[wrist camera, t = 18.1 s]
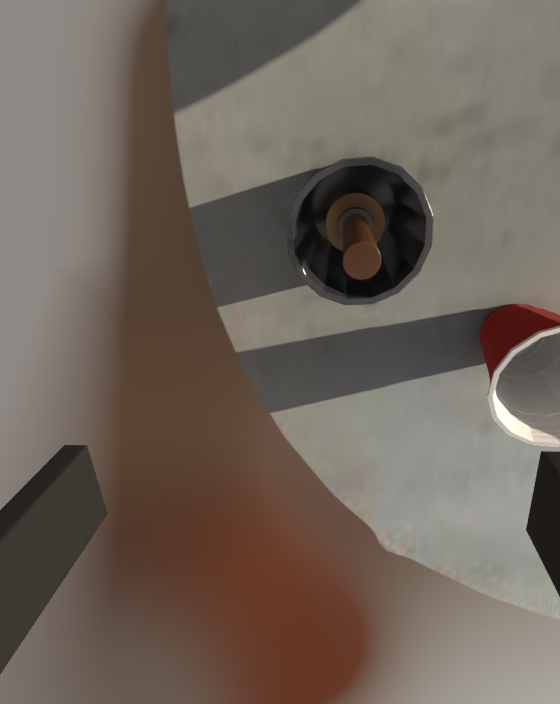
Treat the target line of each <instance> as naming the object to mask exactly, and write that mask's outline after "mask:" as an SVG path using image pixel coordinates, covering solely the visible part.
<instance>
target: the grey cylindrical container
mask: <svg viewBox="0 0 560 704" xmlns="http://www.w3.org/2000/svg"><path fill="white" fill-rule="evenodd" d="M351 190H361V191H364V192H367V193H369V194H370V195H372V196H373V197H374V198H375V199H376V200H377V201H378V203H379V204H380V205H381V207H382V209H383V211H384V215H385V228H384V232H383V234H382V237H381V238H380V240H379V241H378V242H377V247H378V249H379V252H380V255H381V265H380V268H379V270H378V271H377V272H376V274H374V275H373V276H372V277H370V278H367V279H363V280H359V279H355V278H353V277H351V276H350V275H348V274H347V272H346V271H345V269H344V266H343V251H340V250H339V249H337V248H336V247H335V246H334V245H333V244H332V243H331V242H330V240H329V238H328V236H327V234H326V229H325V221H326V216H327V213H328V210H329V207H330V205H331V204H332V202H333V201H334V200H335V199H336V198H337V197H338V196H339V195H341V194H342V193H344V192H347V191H351ZM286 229H287V242H288V254H289V257H290V259H291V261H292V263H293V265H294V267H295V269H296V271H297V273H298V275H299V277H300V278H301V280H302V281H304V282H305V283H306V284H307V285H308V286H309V287H310V288H311V289H313V290H314V291H315V292H316V293H317V294H318V295H319V296H321V297H324V298H327V299H329V300H332V301H335V302H338V303H341V304H344V305H362V304H374V303H376V302H379V301H381V300H383V299H386V298H388V297H390V296H393V295H395V294H397V293H399V292H400V291H401V290H402V289H403V288H404V287H405V286H406V285H407V284H408V283H409V282H410V281H411V280H412V279H413V278H415V277H416V276H417V275H418V274H419V272H420V270H421V268H422V266H423V264H424V262H425V260H426V258H427V255H428V253H429V251H430V249H431V246H432V235H433V213H432V211H431V208H430V205H429V203H428V200H427V197H426V195H425V192H424V189H423V188H422V186H421V185H420V184H419V183H418V182H417V181H415V180H414V179H413V178H412V177H411V176H410V175H409V174H408V173H407V172H406V171H405V170H404V169H403V168H402V167H401V166H398V165H395V164H392V163H390V162H387V161H384V160H381V159H378V158H375V157H362V158H351V159H342V160H340V161H338V162H336V163H334V164H332V165H331V166H329V167H327V168H325V169H323V170H321V171H320V172H318V173H316V174H315V175H314V176H313V177H312V178H311V179H310V180H309V182H308V183H307V184H306V185H305V187H304V188H303V189H302V190H301V191H300V193H299V194H298V195H297V196H296V198H295V200H294V203H293V207H292V210H291V213H290V216H289V219H288V222H287V227H286Z"/></svg>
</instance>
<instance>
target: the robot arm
mask: <svg viewBox="0 0 560 704" xmlns="http://www.w3.org/2000/svg"><path fill="white" fill-rule="evenodd" d="M106 515H107V510H106V507H105V504H104V501H103V497H102V494H101V490H100V487H99V484H98V481H97V477H96V474H95V471H94V468H93V464H92V460H91V457H90V454H89V451H88V447H87V446H86V445H85V446H84V445H64V446H63V447H62V448H61V449H60V450H59V451H58V452H57V453H56V454H55V455H54V456H53V457H52V458H51V459H50V460H49V462H47V463H46V465H44V466H43V468H42V469H41V470H40V471H39V472H38V473H37V474H36V475H35V476H34V477H33V478H32V479H31V480H30V481H29V482H28V483H27V484H26V485H25V486H24V487H23V488H22V489H21V490H20V491H19V492H18V493H17V494H16V495H15V496H14V497H13V498H12V499H11V500H10V501H9V502H8V503H7V504H6V505H5V506H4V507H3V508H2V509H1V510H0V674H1V673H2V671H3V669H4V668H5V667H6V665H7V664H8V662H9V661H10V659H11V658H12V656H13V655H14V653H15V651H16V650H17V649H18V647H19V645H20V644H21V642H22V641H23V640H24V638H25V637H26V635H27V634H28V632H29V631H30V629H31V628H32V626H33V625H34V623H35V622H36V620H37V619H38V617H39V616H40V614H41V613H42V611H43V609H44V608H45V607H46V605H47V604H48V602H49V601H50V599H51V598H52V596H53V594H54V593H55V591H56V590H57V589H58V587H59V585H60V584H61V583H62V581H63V580H64V578H65V577H66V575H67V574H68V572H69V571H70V569H71V568H72V566H73V564H74V563H75V562H76V560H77V559H78V557H79V556H80V554H81V553H82V551H83V550H84V548H85V547H86V545H87V544H88V542H89V541H90V539H91V538H92V536H93V535H94V533H95V532H96V530H97V529H98V527H99V526H100V524H101V523H102V521H103V520H104V518H105V517H106ZM526 530H527V532H528V534H529V536H530V538H531V540H532V542H533V544H534V546H535V548H536V550H537V552H538V554H539V556H540V558H541V560H542V562H543V564H544V566H545V568H546V570H547V572H548V574H549V576H550V578H551V580H552V582H553V584H554V586H555V588H556V590H557V592H558V594H559V596H560V452H543V451H541V455H540V460H539V465H538V470H537V476H536V481H535V486H534V491H533V497H532V502H531V507H530V513H529V518H528V523H527V528H526Z"/></svg>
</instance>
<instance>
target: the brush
mask: <svg viewBox="0 0 560 704" xmlns="http://www.w3.org/2000/svg"><path fill="white" fill-rule="evenodd" d="M384 228H385V215H384V211H383V209H382V207H381V205H380V204H379V203H378V201H377V200H376V199H375V198H374V197H373V196H372V195H370V194H369V193H367V192H364V191H361V190H351V191H347V192H344V193H342V194H341V195H339V196H338V197H337V198H336V199H335V200H334V201H333V202H332V204H331V205H330V207H329V210H328V213H327V216H326V221H325V229H326V234H327V236H328V238H329V240H330V242H331V243H332V244H333V245H334V246H335V247H336V248H337V249H339V250H340V251H343V266H344V269H345V271H346V272H347V274H348V275H350V276H351V277H353V278H355V279H359V280H363V279H367V278H370V277H372V276H373V275H374V274H376V272H377V271H378V270H379V268H380V265H381V255H380V252H379V249H378V247H377V242H378V241H379V240H380V238H381V237H382V234H383V232H384Z"/></svg>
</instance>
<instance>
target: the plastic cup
mask: <svg viewBox="0 0 560 704" xmlns="http://www.w3.org/2000/svg"><path fill="white" fill-rule="evenodd" d="M480 339H481V343H482V347H483V353H484V357H485V361H486V365H487V368H488V372H489V375H490V376H489V377H490V387H489V391H488V401H489V405H490V409H491V413H492V417H493V419H494V420H495V421H496V423H497V424H498V425H499V426H500V427H501V428H502V429H503V430H504V431H505V432H506V433H507V434H508V435H509V436H512V437H514V438H516V439H519V440H521V441H523V442H526V443H528V444H530V445H541V446H554V447H560V315H558V314H555V313H552V312H550V311H547V310H544V309H539V308H535V307H532V306H529V305H521V304H510V305H507V306H504V307H501V308H499V309H497V310H496V311H494V312H493V313H492V314H490V315H489V316H488V318H487V319H486V321H485V322H484V323H483V325H482V330H481V336H480Z"/></svg>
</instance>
